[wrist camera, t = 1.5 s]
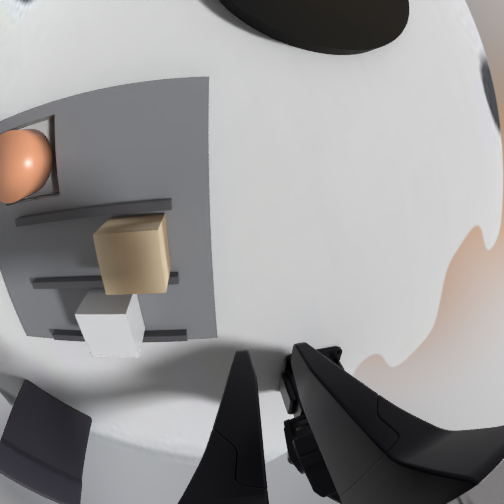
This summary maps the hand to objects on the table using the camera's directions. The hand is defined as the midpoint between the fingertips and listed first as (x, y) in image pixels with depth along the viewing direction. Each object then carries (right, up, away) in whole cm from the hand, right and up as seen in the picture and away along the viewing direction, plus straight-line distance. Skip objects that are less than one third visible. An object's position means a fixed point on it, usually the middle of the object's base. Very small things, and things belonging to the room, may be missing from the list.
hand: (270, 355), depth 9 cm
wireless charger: (+4, +27, +4) cm, 27 cm away
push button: (-17, +10, +5) cm, 21 cm away
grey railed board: (-14, +5, +9) cm, 17 cm away
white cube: (-11, -1, +11) cm, 16 cm away
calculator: (-28, -17, +17) cm, 37 cm away
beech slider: (-8, +4, +9) cm, 13 cm away
